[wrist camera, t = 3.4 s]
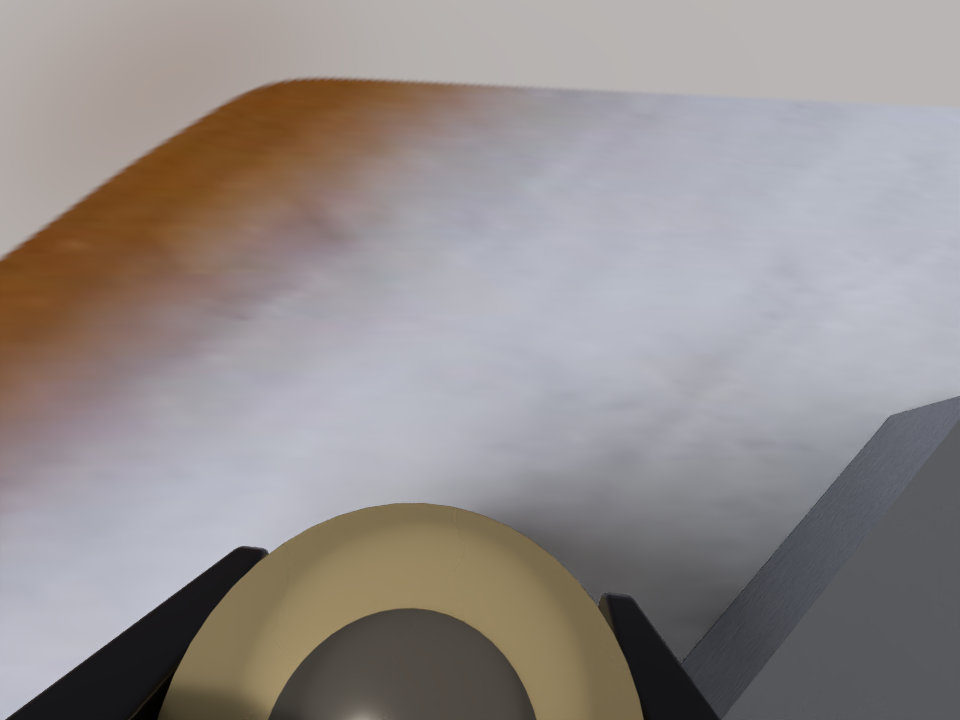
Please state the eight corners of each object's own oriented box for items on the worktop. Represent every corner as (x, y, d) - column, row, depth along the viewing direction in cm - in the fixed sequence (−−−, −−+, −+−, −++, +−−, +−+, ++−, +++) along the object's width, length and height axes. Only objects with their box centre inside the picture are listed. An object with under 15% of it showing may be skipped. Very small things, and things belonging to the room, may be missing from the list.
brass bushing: (570, 630, 14) (757, 781, 5) (425, 785, 13) (354, 1325, 4) (446, 485, 15) (429, 413, 6) (301, 616, 14) (34, 750, 5)
